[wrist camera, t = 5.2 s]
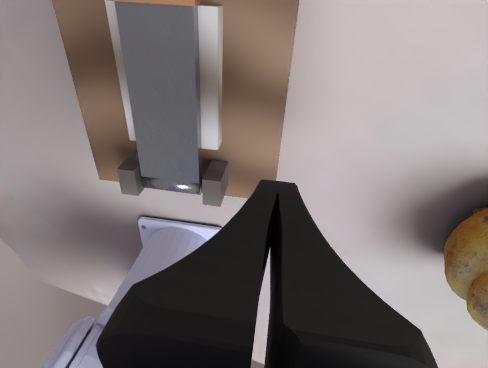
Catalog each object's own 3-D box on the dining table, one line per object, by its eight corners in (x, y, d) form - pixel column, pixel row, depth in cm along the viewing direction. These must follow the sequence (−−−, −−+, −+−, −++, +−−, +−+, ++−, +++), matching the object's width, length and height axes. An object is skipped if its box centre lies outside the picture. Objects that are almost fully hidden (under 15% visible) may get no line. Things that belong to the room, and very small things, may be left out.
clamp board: (274, 190, 24) (269, 232, 19) (109, 169, 25) (71, 205, 21) (311, -100, 14) (318, -138, 10) (43, -107, 15) (-49, -144, 11)
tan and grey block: (206, 188, 21) (200, 200, 20) (146, 181, 21) (138, 192, 20) (201, -57, 14) (192, -63, 12) (111, -62, 14) (94, -68, 13)
